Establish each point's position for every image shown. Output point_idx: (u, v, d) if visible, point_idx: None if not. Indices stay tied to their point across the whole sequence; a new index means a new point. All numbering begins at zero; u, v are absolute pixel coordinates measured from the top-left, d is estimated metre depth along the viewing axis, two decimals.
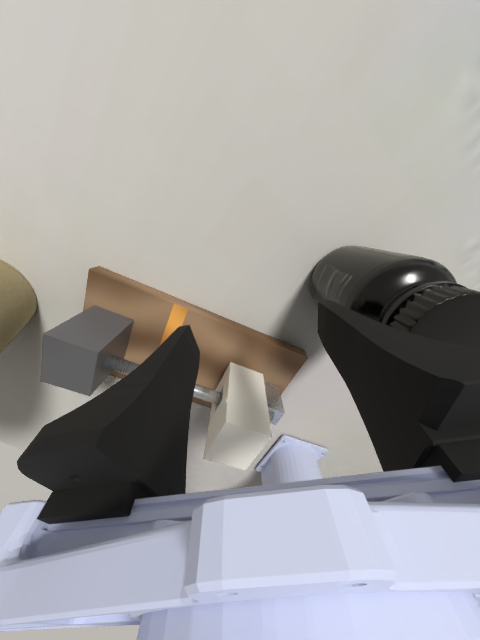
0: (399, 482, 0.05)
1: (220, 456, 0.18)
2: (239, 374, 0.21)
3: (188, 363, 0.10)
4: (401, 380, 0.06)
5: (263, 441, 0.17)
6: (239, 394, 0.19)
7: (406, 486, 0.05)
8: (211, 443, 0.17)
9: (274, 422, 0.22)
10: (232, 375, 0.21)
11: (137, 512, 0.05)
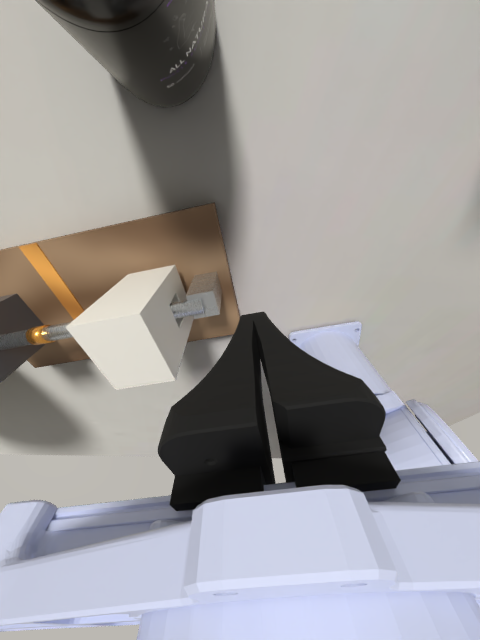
0: (399, 482, 0.05)
1: (127, 377, 0.13)
2: (132, 279, 0.15)
3: (257, 352, 0.10)
4: None
5: (139, 327, 0.11)
6: (116, 294, 0.13)
7: (406, 486, 0.05)
8: (100, 366, 0.12)
9: (215, 311, 0.15)
10: (120, 283, 0.15)
11: (137, 512, 0.05)
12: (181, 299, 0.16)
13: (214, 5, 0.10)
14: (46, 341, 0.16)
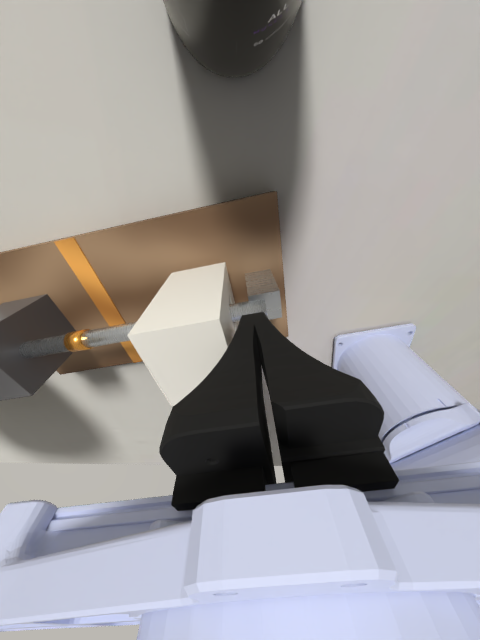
0: (399, 482, 0.05)
1: (187, 392, 0.11)
2: (180, 278, 0.14)
3: (258, 352, 0.10)
4: None
5: (215, 335, 0.09)
6: (171, 296, 0.11)
7: (406, 486, 0.05)
8: (157, 380, 0.10)
9: (278, 314, 0.14)
10: (168, 283, 0.13)
11: (137, 512, 0.05)
12: (231, 300, 0.15)
13: None
14: (86, 348, 0.14)
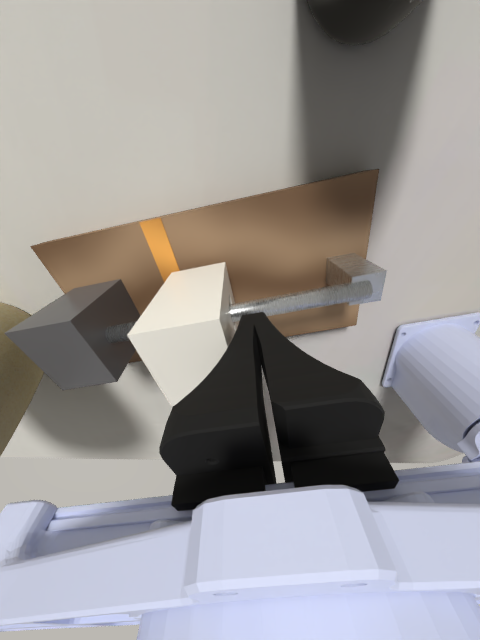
0: (399, 482, 0.05)
1: (187, 392, 0.11)
2: (180, 278, 0.14)
3: (258, 352, 0.10)
4: None
5: (215, 335, 0.09)
6: (171, 296, 0.11)
7: (406, 486, 0.05)
8: (157, 380, 0.10)
9: (377, 296, 0.13)
10: (168, 282, 0.13)
11: (137, 512, 0.05)
12: (231, 300, 0.15)
13: None
14: None
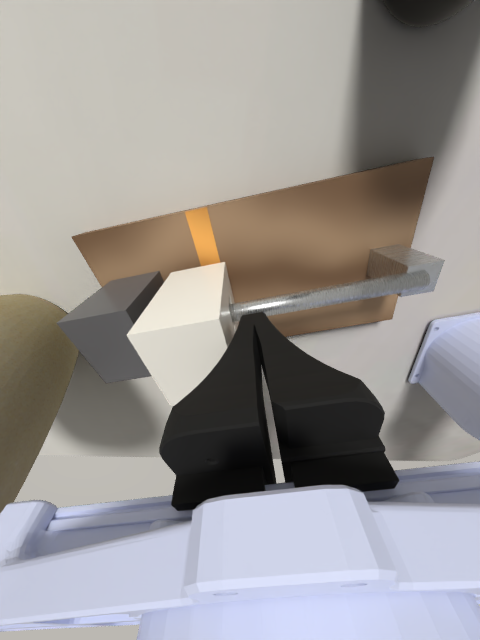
0: (399, 482, 0.05)
1: (187, 392, 0.11)
2: (180, 278, 0.14)
3: (258, 352, 0.10)
4: None
5: (215, 335, 0.09)
6: (171, 295, 0.11)
7: (406, 486, 0.05)
8: (157, 380, 0.10)
9: (430, 287, 0.13)
10: (167, 282, 0.13)
11: (137, 512, 0.05)
12: (231, 300, 0.15)
13: None
14: None
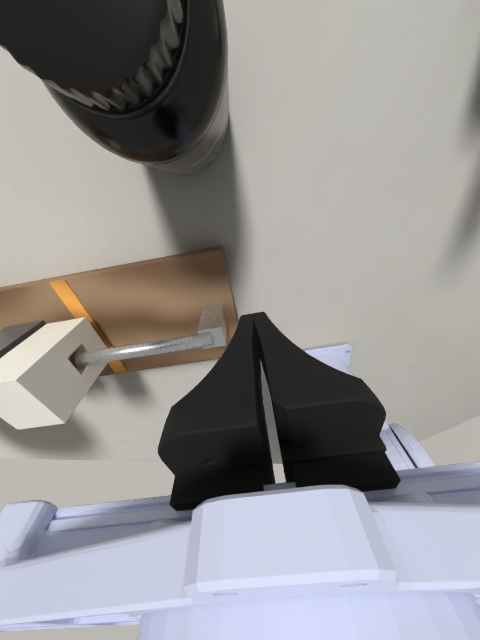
0: (399, 482, 0.05)
1: (24, 421, 0.16)
2: (43, 332, 0.18)
3: (257, 352, 0.10)
4: None
5: (19, 389, 0.14)
6: (18, 352, 0.16)
7: (406, 486, 0.05)
8: None
9: (222, 343, 0.18)
10: (32, 336, 0.18)
11: (137, 512, 0.05)
12: (90, 346, 0.19)
13: (228, 107, 0.12)
14: None
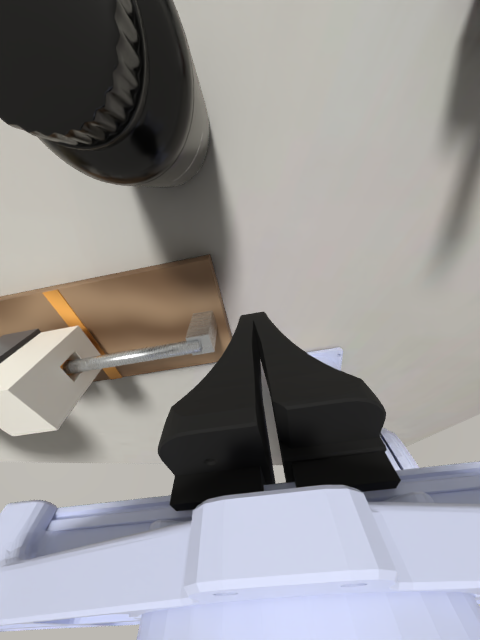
0: (399, 482, 0.05)
1: (18, 428, 0.16)
2: (37, 341, 0.19)
3: (257, 352, 0.10)
4: None
5: (11, 398, 0.14)
6: (12, 361, 0.17)
7: (406, 486, 0.05)
8: None
9: (210, 349, 0.18)
10: (26, 345, 0.19)
11: (137, 512, 0.05)
12: (83, 354, 0.20)
13: (208, 124, 0.13)
14: None
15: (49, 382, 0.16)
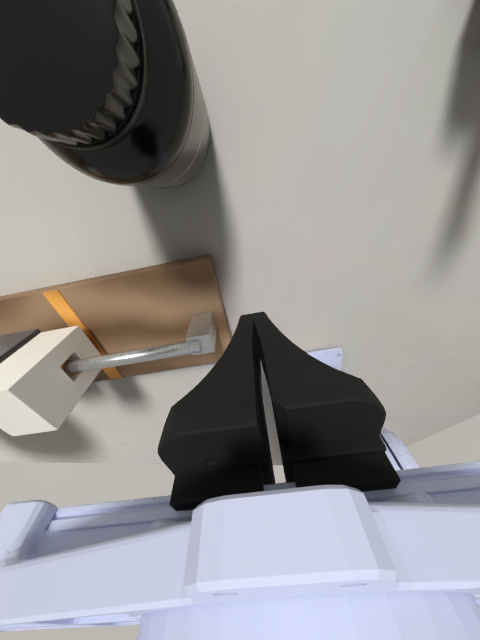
0: (399, 482, 0.05)
1: (18, 428, 0.16)
2: (37, 341, 0.19)
3: (257, 352, 0.10)
4: None
5: (11, 398, 0.14)
6: (12, 361, 0.17)
7: (406, 486, 0.05)
8: None
9: (210, 349, 0.18)
10: (26, 345, 0.19)
11: (137, 512, 0.05)
12: (83, 354, 0.20)
13: (207, 124, 0.13)
14: None
15: (49, 382, 0.16)
